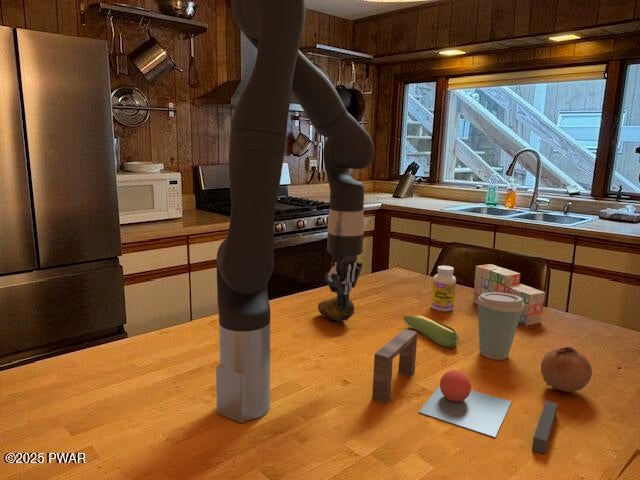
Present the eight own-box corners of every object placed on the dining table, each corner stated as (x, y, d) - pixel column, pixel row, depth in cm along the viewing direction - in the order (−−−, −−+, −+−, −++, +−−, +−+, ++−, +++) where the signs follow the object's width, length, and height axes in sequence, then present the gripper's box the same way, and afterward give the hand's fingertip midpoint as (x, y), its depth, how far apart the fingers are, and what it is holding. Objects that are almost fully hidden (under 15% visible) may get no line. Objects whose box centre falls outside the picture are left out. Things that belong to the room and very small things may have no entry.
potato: (343, 312, 145) (344, 286, 143) (357, 329, 132) (358, 300, 131) (315, 314, 142) (316, 287, 141) (327, 331, 130) (328, 302, 129)
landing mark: (495, 438, 86) (495, 437, 86) (418, 412, 93) (418, 411, 93) (511, 402, 98) (511, 401, 98) (442, 382, 105) (442, 381, 105)
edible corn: (448, 353, 120) (450, 335, 119) (397, 324, 137) (398, 309, 136) (464, 349, 122) (465, 331, 121) (412, 321, 139) (413, 306, 139)
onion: (560, 405, 97) (566, 358, 95) (528, 382, 106) (533, 339, 104) (599, 400, 100) (606, 354, 97) (565, 377, 108) (571, 335, 106)
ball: (432, 382, 96) (445, 410, 96) (461, 374, 94) (474, 403, 94) (437, 369, 102) (450, 396, 102) (465, 361, 99) (477, 389, 99)
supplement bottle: (430, 310, 148) (433, 269, 145) (431, 303, 154) (434, 263, 151) (453, 313, 146) (456, 271, 143) (453, 306, 152) (457, 265, 149)
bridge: (386, 403, 96) (388, 357, 94) (372, 398, 98) (374, 353, 96) (414, 373, 109) (417, 332, 106) (401, 369, 110) (404, 328, 108)
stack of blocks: (541, 323, 140) (547, 281, 138) (525, 326, 138) (530, 284, 135) (486, 300, 159) (490, 263, 157) (472, 302, 156) (475, 264, 154)
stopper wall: (544, 454, 82) (546, 441, 81) (531, 450, 83) (533, 437, 82) (555, 415, 94) (557, 403, 93) (544, 412, 95) (546, 400, 94)
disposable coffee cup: (462, 348, 122) (468, 290, 119) (497, 342, 126) (504, 286, 123) (491, 367, 112) (498, 304, 109) (528, 360, 116) (536, 300, 113)
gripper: (345, 238, 96) (342, 322, 99) (375, 228, 107) (371, 304, 110) (313, 233, 99) (311, 314, 103) (345, 224, 110) (342, 297, 114)
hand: (342, 309), depth 107 cm, fingers closed
